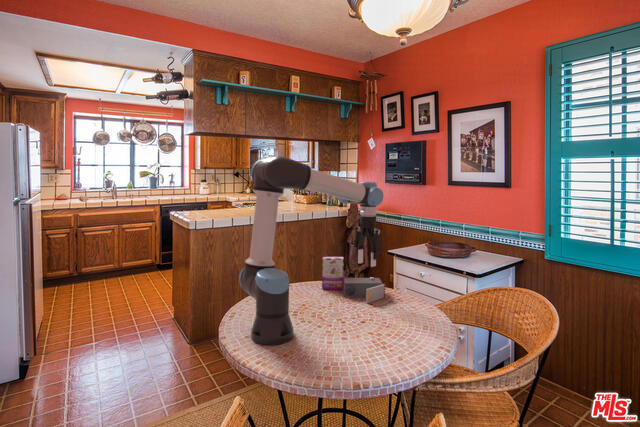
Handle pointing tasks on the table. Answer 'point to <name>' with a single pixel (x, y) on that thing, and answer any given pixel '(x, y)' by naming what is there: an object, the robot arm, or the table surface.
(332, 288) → the candy bar box
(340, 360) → the table surface
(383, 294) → the door
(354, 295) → the case
